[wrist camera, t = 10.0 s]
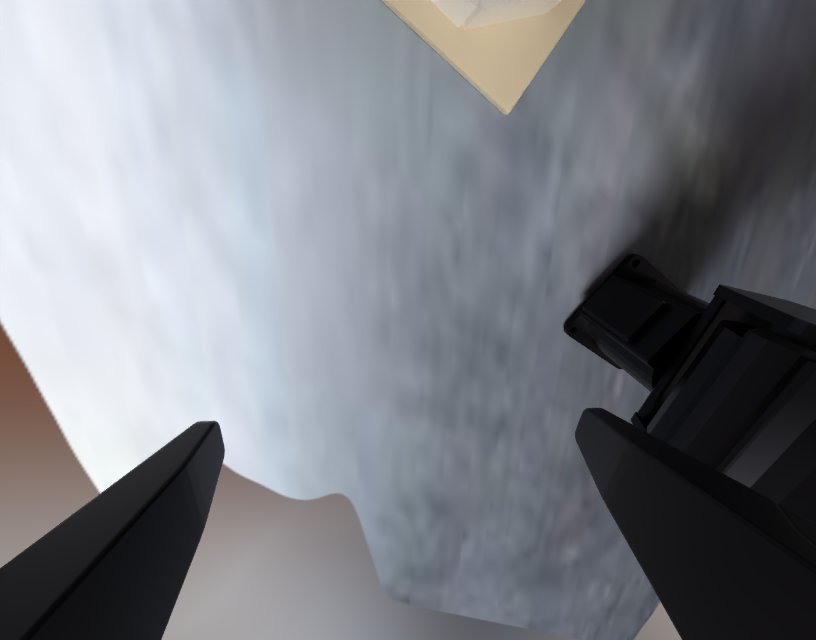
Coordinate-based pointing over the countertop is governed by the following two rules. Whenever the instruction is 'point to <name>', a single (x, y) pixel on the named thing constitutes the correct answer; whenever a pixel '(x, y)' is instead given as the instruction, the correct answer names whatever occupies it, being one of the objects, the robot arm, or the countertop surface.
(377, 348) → the countertop surface
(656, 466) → the robot arm
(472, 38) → the socket
